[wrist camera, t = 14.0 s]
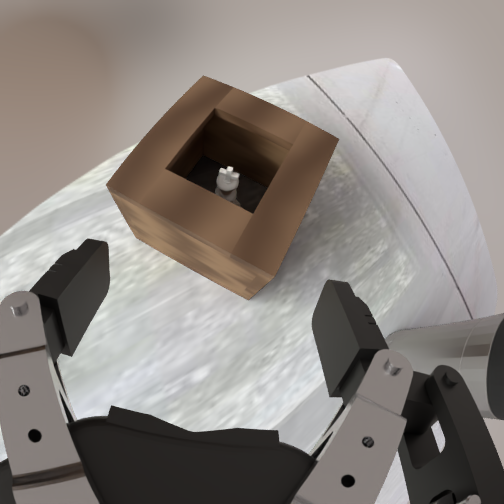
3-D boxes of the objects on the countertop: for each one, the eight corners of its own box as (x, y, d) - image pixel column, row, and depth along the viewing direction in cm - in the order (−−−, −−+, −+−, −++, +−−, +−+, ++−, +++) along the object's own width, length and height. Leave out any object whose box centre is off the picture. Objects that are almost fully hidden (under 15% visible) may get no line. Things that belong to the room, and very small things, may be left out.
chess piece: (235, 243, 33) (249, 203, 24) (193, 228, 33) (190, 183, 23) (249, 205, 35) (266, 156, 25) (209, 191, 34) (212, 138, 25)
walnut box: (300, 197, 36) (339, 139, 25) (248, 300, 31) (274, 276, 20) (200, 146, 36) (203, 75, 25) (135, 237, 31) (105, 184, 20)
